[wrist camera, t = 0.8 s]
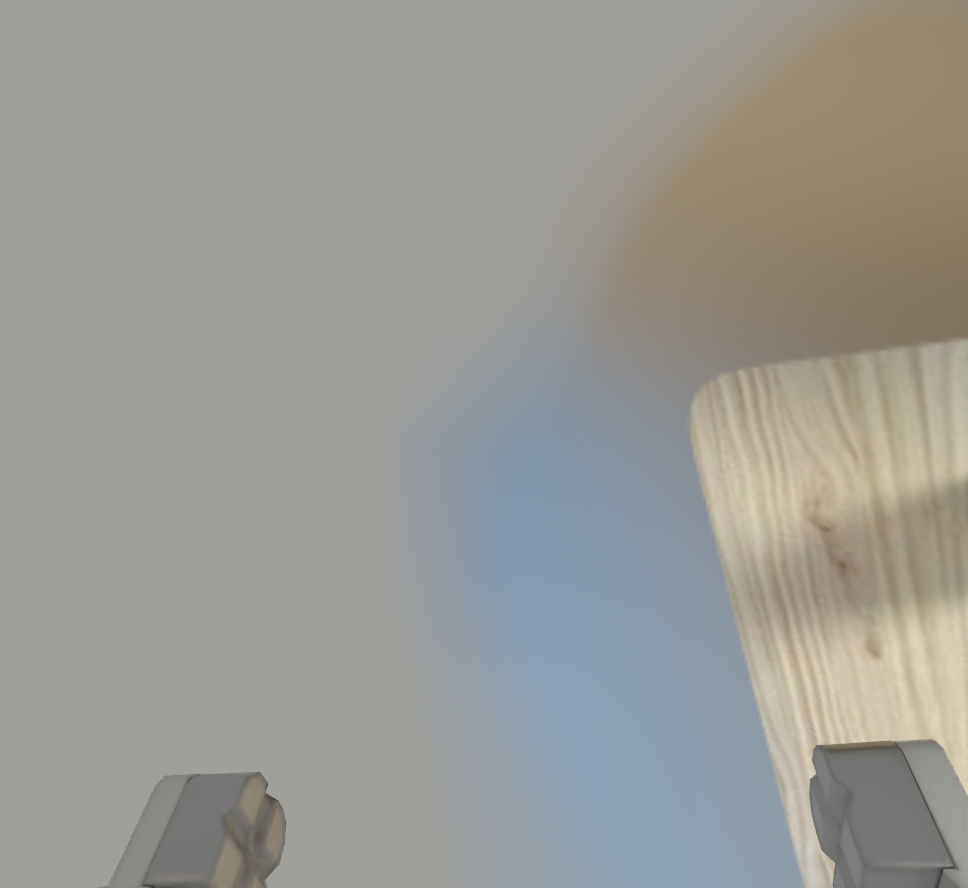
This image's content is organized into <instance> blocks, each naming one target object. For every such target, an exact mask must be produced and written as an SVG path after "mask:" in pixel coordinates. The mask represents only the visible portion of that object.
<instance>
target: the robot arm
mask: <svg viewBox="0 0 968 888" xmlns="http://www.w3.org/2000/svg"><path fill="white" fill-rule="evenodd" d="M812 761H813V764H814V767H815V770H816V773H817V774H816V775H815V776H814V777H812V778H811V779H810V792H809V795H810V803H811V812H812V817H813V821H814V825H815V829H816V833H817V836H818V840H819V843H820V846H821V850H822V851H823V852H824V853H825V854H826V855H827V856H828V857H829V858H830V859H831V860H832V861H834V862H835V870H834V878H833V888H968V795H967V794H966V792H965V790H964V788H963V786H962V784H961V782H960V780H959V778H958V776H957V774H956V772H955V770H954V768H953V766H952V764H951V762H950V760H949V758H948V757H947V755H946V753H945V751H944V749H943V748H942V747H941V746H940V745H939V744H938V743H937V742H936V741H934V740H931V739H927V740H909V741H878V742H863V743H848V744H832V745H817V746H816V747H815V748H814V750H813V758H812ZM267 786H268V783H267V781H266V780H265V778H264V777H263V775H262V774H261V772H248V773H226V774H205V775H204V774H190V775H173V776H164V778H163V779H162V780H161V781H160V782H159V783H158V784H157V785H156V786H155V788H154V790H153V792H152V794H151V796H150V798H149V801H148V803H147V805H146V807H145V809H144V811H143V813H142V815H141V817H140V820H139V822H138V824H137V826H136V828H135V830H134V832H133V835H132V837H131V839H130V841H129V843H128V845H127V847H126V849H125V851H124V854H123V856H122V858H121V860H120V862H119V865H118V866H117V868H116V870H115V873H114V875H113V877H112V879H111V881H110V883H109V885H108V886H107V887H99V888H268V887H267V884H266V881H265V879H266V878H267V877H268V876H269V875H270V874H271V873H272V872H273V870H274V869H275V868H276V867H277V866H278V865H279V863H280V860H281V856H282V852H283V848H284V845H285V831H286V821H285V816H284V812H283V808H282V807H281V805H280V803H279V801H278V800H276V799H275V798H273V797H271V796H269V795H268V794H266V789H267Z"/></svg>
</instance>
